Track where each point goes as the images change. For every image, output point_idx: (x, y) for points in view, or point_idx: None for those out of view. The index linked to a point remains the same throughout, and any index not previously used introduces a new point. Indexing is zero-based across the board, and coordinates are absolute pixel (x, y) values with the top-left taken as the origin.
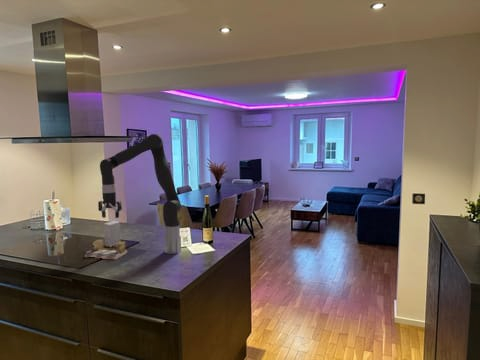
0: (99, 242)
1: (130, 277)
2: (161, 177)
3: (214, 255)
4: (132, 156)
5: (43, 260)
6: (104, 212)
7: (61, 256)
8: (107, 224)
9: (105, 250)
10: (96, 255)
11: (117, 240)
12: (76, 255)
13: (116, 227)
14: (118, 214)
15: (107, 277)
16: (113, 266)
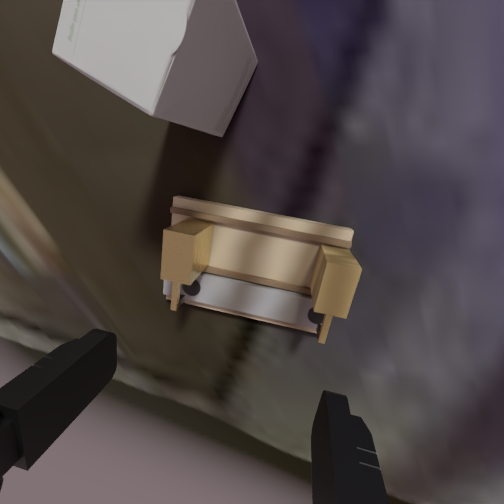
0: (193, 271)
1: (434, 484)
2: None
3: None
4: None
5: (44, 321)
6: (38, 426)
7: (73, 281)
8: (114, 92)
9: (232, 238)
10: (223, 308)
11: (241, 79)
12: (123, 270)
13: (209, 42)
14: (372, 482)
15: None
16: None
